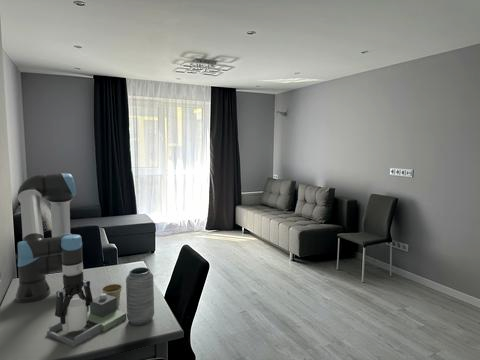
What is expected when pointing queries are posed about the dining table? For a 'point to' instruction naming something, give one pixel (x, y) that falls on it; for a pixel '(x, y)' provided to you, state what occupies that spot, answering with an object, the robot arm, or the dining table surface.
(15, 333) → the dining table surface
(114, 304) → the square frame with panel
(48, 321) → the dining table surface
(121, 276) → the dining table surface
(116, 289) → the flower pot
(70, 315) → the cup
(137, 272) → the vase
